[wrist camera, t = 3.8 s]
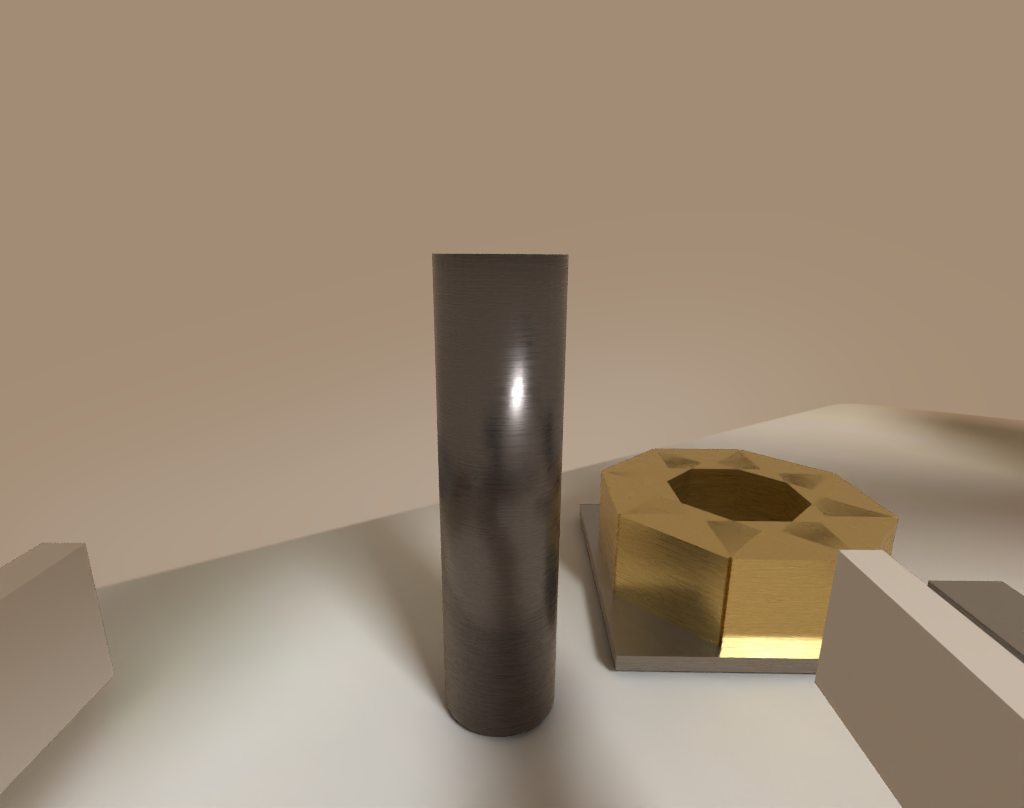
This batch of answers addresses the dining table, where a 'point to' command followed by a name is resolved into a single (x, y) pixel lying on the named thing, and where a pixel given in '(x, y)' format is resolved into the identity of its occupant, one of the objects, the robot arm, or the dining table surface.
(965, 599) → the grey bar with ball
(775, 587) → the ring nut
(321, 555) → the dining table surface
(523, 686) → the steel pin
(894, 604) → the robot arm
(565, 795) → the dining table surface
